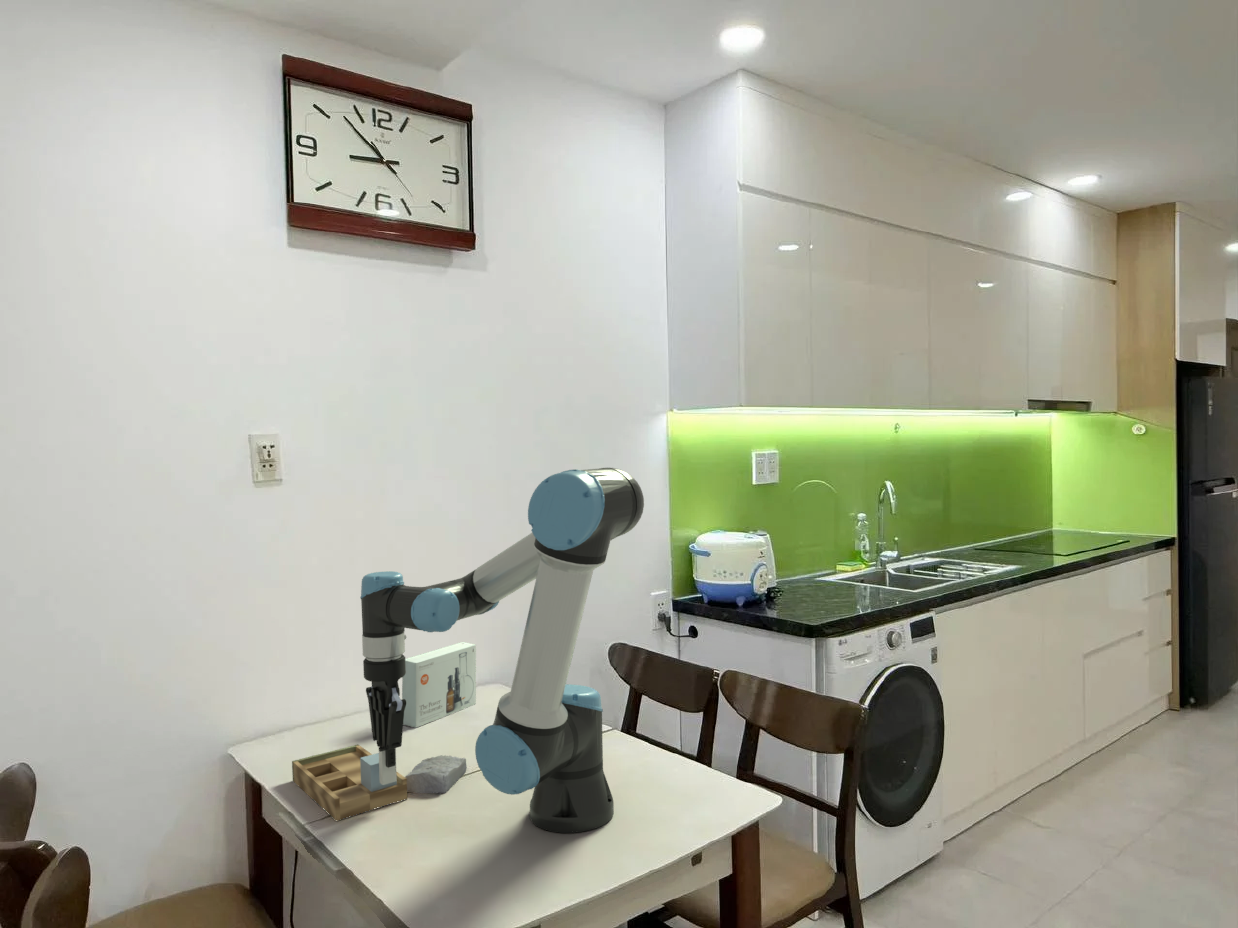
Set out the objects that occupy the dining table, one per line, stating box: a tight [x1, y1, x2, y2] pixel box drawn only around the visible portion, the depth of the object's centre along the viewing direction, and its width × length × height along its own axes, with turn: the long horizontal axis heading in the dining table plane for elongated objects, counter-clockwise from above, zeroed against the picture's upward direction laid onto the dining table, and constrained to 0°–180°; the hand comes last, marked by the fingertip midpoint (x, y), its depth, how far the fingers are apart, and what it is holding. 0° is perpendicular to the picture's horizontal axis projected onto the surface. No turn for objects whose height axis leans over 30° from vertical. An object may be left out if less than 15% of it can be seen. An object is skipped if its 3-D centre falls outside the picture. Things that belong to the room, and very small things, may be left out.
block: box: [360, 752, 397, 792], centre depth 160 cm, size 5×5×5 cm
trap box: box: [291, 744, 408, 821], centre depth 165 cm, size 24×14×4 cm, turn 39°
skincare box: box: [401, 641, 477, 729], centre depth 209 cm, size 21×6×16 cm, turn 147°
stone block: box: [404, 754, 468, 794], centre depth 169 cm, size 12×5×10 cm
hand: (388, 781), depth 157 cm, fingers closed
